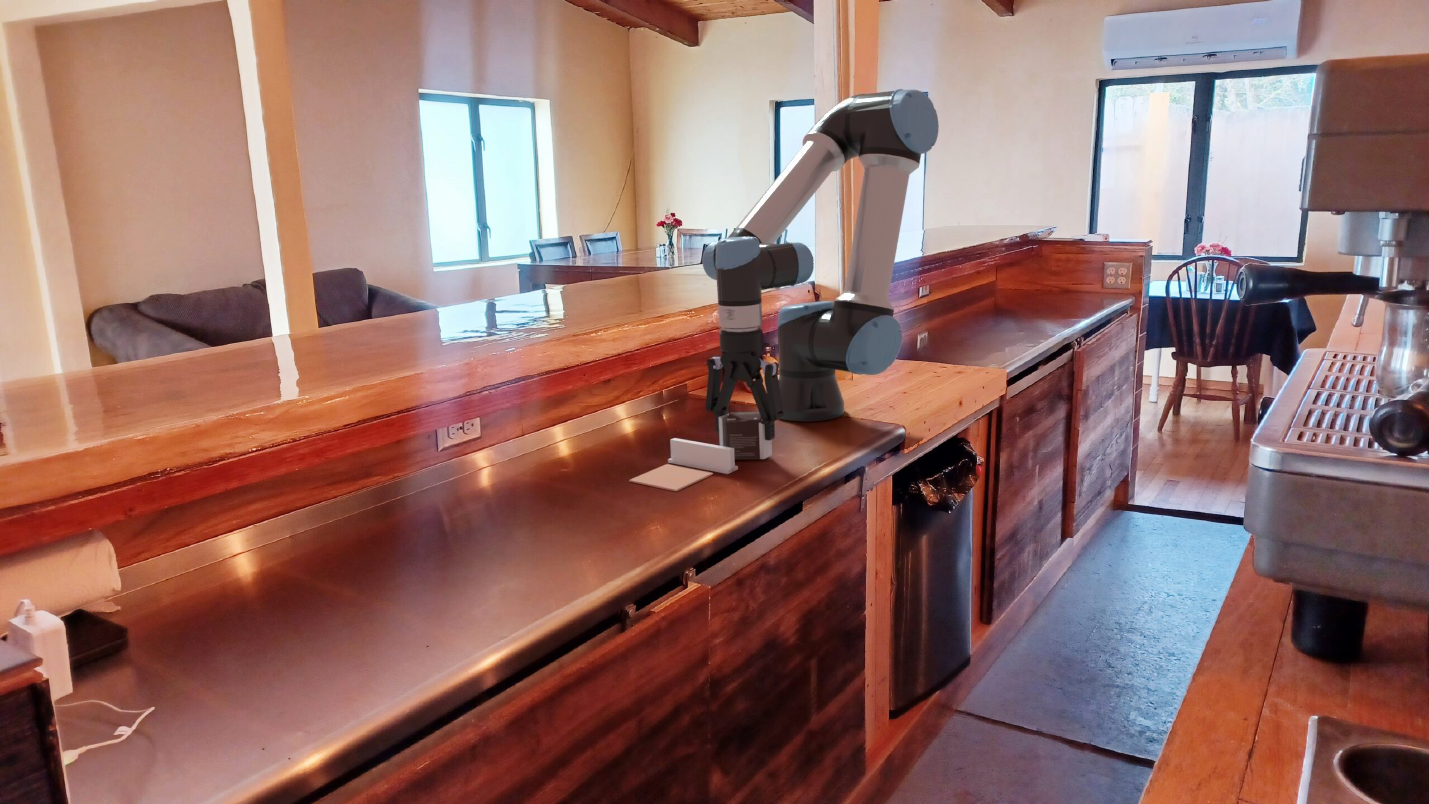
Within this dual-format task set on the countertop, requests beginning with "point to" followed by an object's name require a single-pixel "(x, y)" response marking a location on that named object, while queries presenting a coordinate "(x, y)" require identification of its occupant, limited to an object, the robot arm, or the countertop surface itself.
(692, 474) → the pad
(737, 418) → the box
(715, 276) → the robot arm
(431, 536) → the countertop surface
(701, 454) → the divider wall
